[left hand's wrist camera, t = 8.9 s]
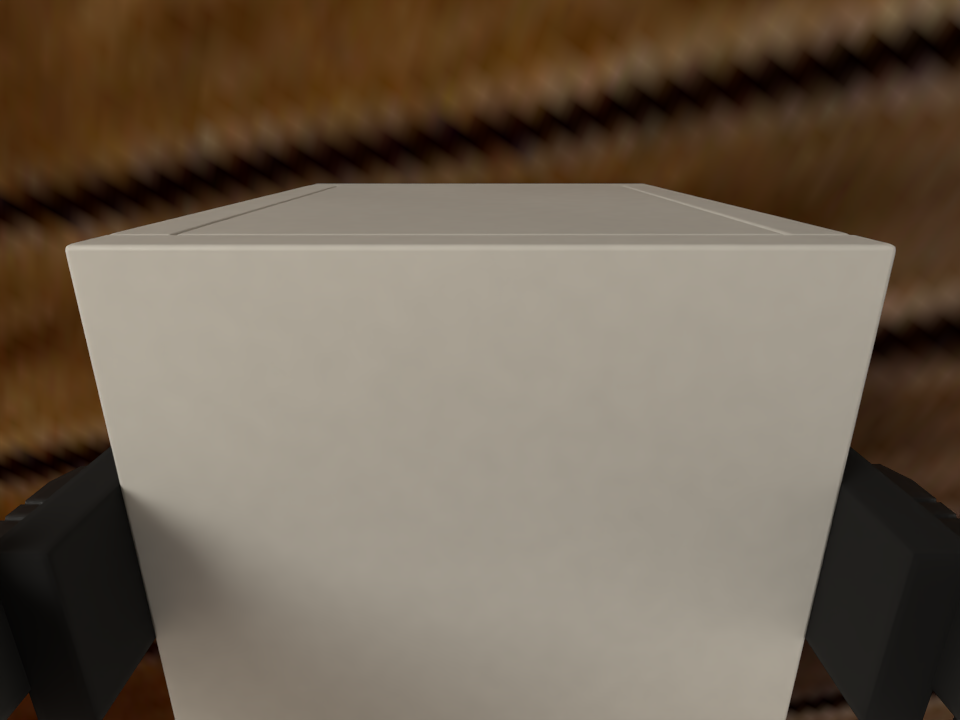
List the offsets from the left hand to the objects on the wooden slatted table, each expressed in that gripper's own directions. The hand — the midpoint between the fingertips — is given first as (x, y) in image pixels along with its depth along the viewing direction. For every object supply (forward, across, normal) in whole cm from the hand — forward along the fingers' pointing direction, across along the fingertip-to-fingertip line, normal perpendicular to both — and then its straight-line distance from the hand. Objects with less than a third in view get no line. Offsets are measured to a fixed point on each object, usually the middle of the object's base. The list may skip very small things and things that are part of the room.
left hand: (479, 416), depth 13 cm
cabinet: (+7, 0, -6) cm, 9 cm away
